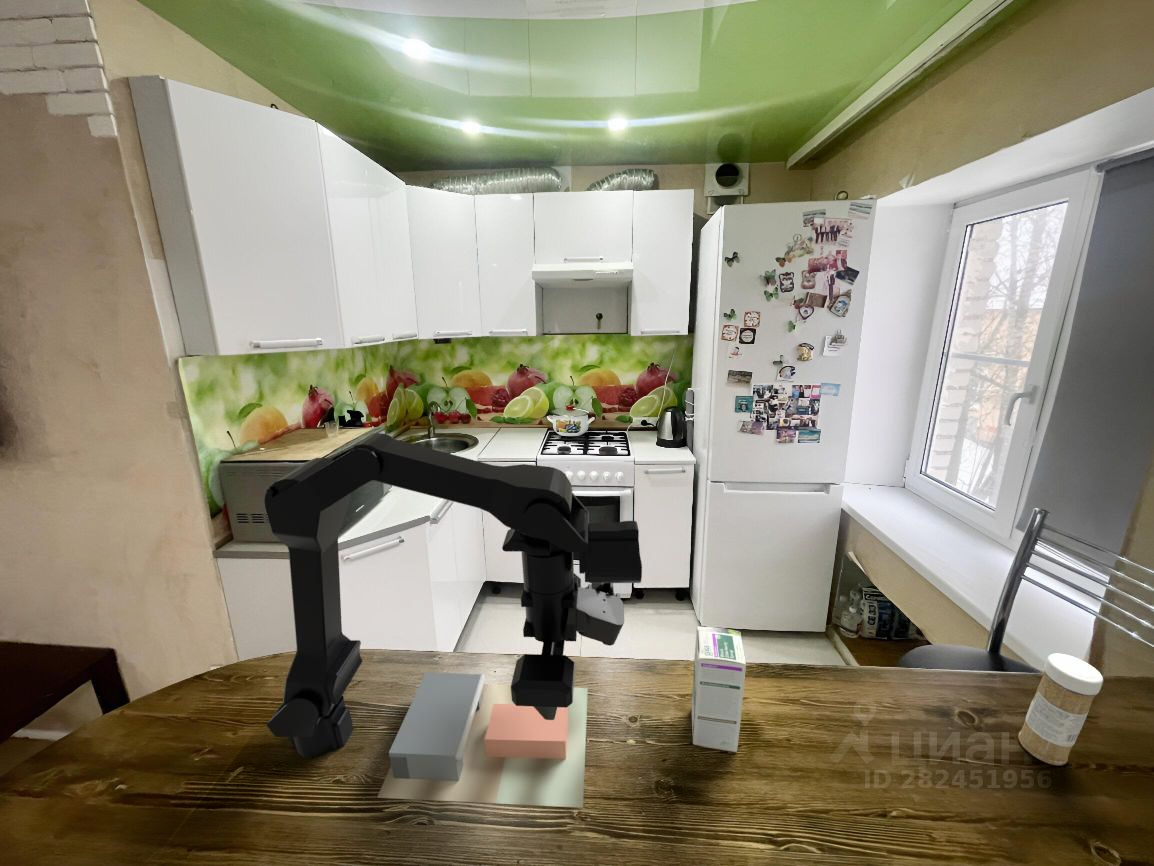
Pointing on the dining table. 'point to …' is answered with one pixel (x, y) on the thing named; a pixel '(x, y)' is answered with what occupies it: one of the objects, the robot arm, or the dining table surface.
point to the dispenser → (437, 727)
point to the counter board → (507, 766)
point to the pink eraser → (526, 733)
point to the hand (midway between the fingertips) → (554, 684)
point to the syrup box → (717, 688)
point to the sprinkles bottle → (1059, 708)
